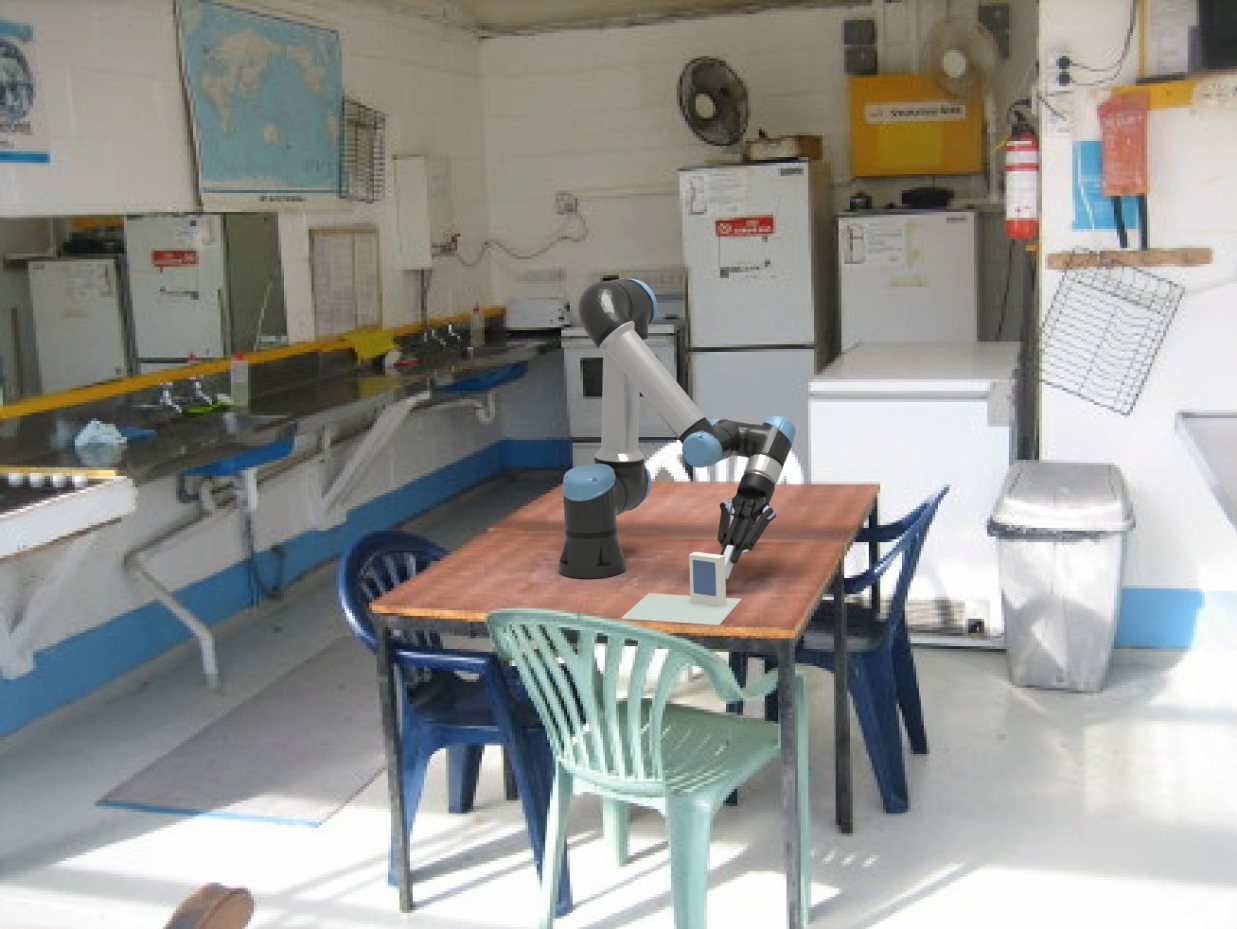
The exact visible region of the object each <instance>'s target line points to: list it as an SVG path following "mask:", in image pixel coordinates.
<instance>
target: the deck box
mask: <svg viewBox="0 0 1237 929" xmlns="http://www.w3.org/2000/svg"><path fill="white" fill-rule="evenodd" d="M688 564H689V566H688V567H689V594H690V595H689V596H690V602H695V603H701V604H708V605H714V606H722V605H724V604H726V598H727V591H726V590H727V588H726V587H727V585H726V581H727V580H726V578H725V556H724V555H720V554H718V553H717V554H715V553H707V552H701V551H700V552H699V551H694V552H691V553H690V554H688Z"/></svg>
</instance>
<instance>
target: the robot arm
mask: <svg viewBox="0 0 1237 929" xmlns="http://www.w3.org/2000/svg"><path fill="white" fill-rule="evenodd" d="M578 301H579V302H578V306H577V308H578V310H577V311H578V312H577V313H578V318H579V321H580V324H581V326H582V327H583V329H584V331H585V333H586V334H587V336H588V337H589V338H590V340H591V341H592V343H593V344H594V345H595V346H596V348H597V349H598V350H599V351H600V352H602V353H603V355H602V357H603V358H602V393H601V394H602V396H601V397H602V401H601V402H602V404H601V408H602V409H601V444H600V449H599V450H598V451H597V452H595V454H594V460H593V461H594V463H587V464H583V465H578V466H575V467H573V468H570V469H569V470H568V471H566V472H565V474H564V475H563V480H562V481H563V484H562V497H563V511H564V528H565V529H564V530H565V531H564V533H565V540H564V542H563V546H562V550H561V554H560V557H559V560H558V568H559V569H558V570H559V573H560V574H561V575H563V576H566V577H568V578H574V579H575V578H576V579H600V578H608V577H612V576H613V577H614V576H617V575H619V574H622V573H623V572H625V570H626V569H627V563H626V561H627V560H626V557H625V554H624V551H623V548H622V546H621V543H620V541H619V538H618V532H617V530H618V529H617V526H618V525H617V516H619V515H621V514H624V513H627V512H630V511H633V510H634V509H636V508H637V507H639V506H640V505H641V504H643V502H645V501H646V499H647V498H648V497H649V494H650V492H651V489H652V476H651V473H650V470H649V469H648V468H647V466H646V465H645V455H644V453H642V451H641V450H639V435H640V434H639V431H640V430H639V429H640V428H639V427H640V394H641V395H642V397H643V398H644V399H645V400H646V401H647V403H648V404H649V405H650V406H651V407H652V409H653V410H654V411H655V412H656V414H658V416H659V418H661V420H662V421H663V422H664V423H665V424H666V425H667V427H668V428H669V429H670V431H671V432H672V433H673V435H675V437H676V438H677V440H679V441H680V443H681V444H682V446H681V451H682V456H683V459H684V460H685V462H686V463H687V464H688V465H690V466H691V467H694V468H697V469H701V468H702V469H703V468H707V467H712V466H713V465H716V464H718V463H719V462H721V461H724V460H726V459H728V458H731V457H733V456H734V457H735V456H736V457H740V458H742V457H743V458H749V459H748V461H747V463H746V466H745V467H744V470H743V473H742V474H743V475H742V476H741V479H740V482H739V483H738V486H737V490H736V494H735V496H734V497H732V498H733V499H732V502H729V503H727V504H725V502H721V503H720V504H719V508H720V518H719V523H718V531H717V532H718V533H717V541H718V543H719V544H720V546H721V547H722V549H721V552H720V554H719V555H724V556H725V578H726V579H727V580H728V579H729V577H730V575H731V572H732V570H733V567H734V565H737V564H738V562H740V561H739V560H740V558H741V556H742V553H744V552H743V551H744V550H747V549H748V550H749V551H752V550H753V548H754V547H755V546H756V544H757V543H758V541H759V539H760V538H761V537H762V535H763V533H764V531H766V528H767V527H768V525H769V524H770V523H771V522H772V521H774V519H776V517H777V514H776V512H775V510H774V509H773V507H770V502H771V500H772V498H773V495H774V492H775V490H776V486H777V484H778V481H779V480H780V477H781V474H782V471H783V470H784V466H785V463H786V460H787V459H788V456H789V454H790V451H791V449H792V447H793V442H794V440H795V436H796V432H797V431H796V427H795V425H794V423H792V421H791V420H790V419H788V418H786V417H784V416H781V415H776V414H775V415H772V416H771V415H769V416H767V417H766V418H765V419H764V421H763V422H762V423H761V424H760V423H759V424H757V423H755V424H754V423H749V422H742V421H737V420H730V419H727V418H722V419H721V418H711V419H709V420H708V419H707V418H706V416H705V415H704V414H703V413H702V411H701V410H700V409H699V408H698V406H697V405H696V404H695V402H693V400H692V398H690V396H689V395H688V393H686V391H685V390H684V389H683V387H682V386H681V385H680V384H679V383H678V382H677V380H676V379H675V378H674V377H673V375H672V374H671V373H670V372H669V370H668V369H666V367H665V366H664V365H663V364H662V362H661V361H660V360H659V359H658V357H657V356H656V355H655V353H654V352H653V351H652V350H651V349H650V347H649V346H648V345H647V344H646V342H647V341H648V339H649V326H650V324H651V323H652V322H653V321H654V319H655V318H656V315H657V310H658V305H657V304H658V303H657V298H656V295H655V294H654V292H653V290H652V289H651V288H650V287H649V286H648V284H646V283H645V282H643V281H641V280H640V279H635V278H627V277H626V278H618V279H612V280H603V281H598V282H595V283H593V284H591V285H589V286H588V287H587V288H586V289H585V290H584V292H583V293H582V294H581V296H580V299H579V300H578ZM733 508H734V511H735V512H734V515H733V516H734V518H733V520H732V521H731V520H730V514H731V513H732V509H733Z"/></svg>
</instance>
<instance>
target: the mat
mask: <svg viewBox="0 0 1237 929" xmlns="http://www.w3.org/2000/svg"><path fill="white" fill-rule="evenodd" d="M741 601H742V598H736V597H735V598H731V597H726V604H724V605H722V606H714V605H708V604H701V603H695V602H690V595H685V594H683V595H682V594H669V593H655V592H654V593H651V592H648V593H647V594H646V595H645V596H644V597H643V598H642V599H641V600H639V601H638V603H636V604H635V605H634V606H633V607H632V608H630V610H628V611H627V612H626V613H625V614H624V615H623V616H621V617H620V618H621V619H622V620H624V619H625V620H634V621H635V620H636V621H637V620H638V621H652V622H653V621H654V622H664V623H665V622H666V623H680V624H681V623H683V624H696V625H697V624H698V625H711V626H720V624H721V623H722V622H723V621H724V620H725V619H726V618H727V616H729V614H730V613H731V612H732V610H733V609H735V607H736V606H737V605H738V604H739V603H740V602H741Z"/></svg>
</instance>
